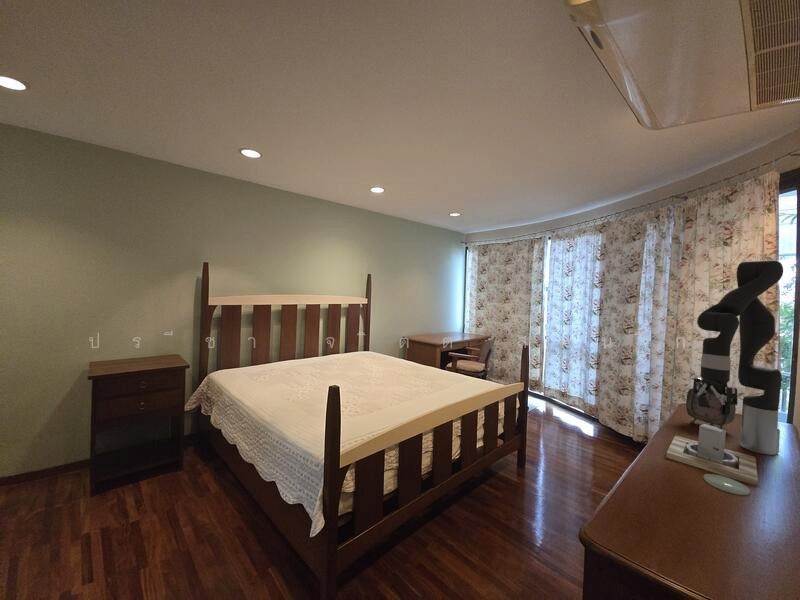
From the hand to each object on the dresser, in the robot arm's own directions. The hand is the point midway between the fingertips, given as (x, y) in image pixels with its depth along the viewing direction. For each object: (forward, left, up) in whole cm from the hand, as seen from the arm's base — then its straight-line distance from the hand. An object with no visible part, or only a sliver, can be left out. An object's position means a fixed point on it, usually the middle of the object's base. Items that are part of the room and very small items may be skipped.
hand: (712, 410), depth 113 cm
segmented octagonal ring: (0, 0, -18) cm, 18 cm away
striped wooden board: (0, 0, -18) cm, 18 cm away
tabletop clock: (-28, -31, -19) cm, 46 cm away
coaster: (+10, +16, -18) cm, 26 cm away
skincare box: (0, 0, -19) cm, 19 cm away
